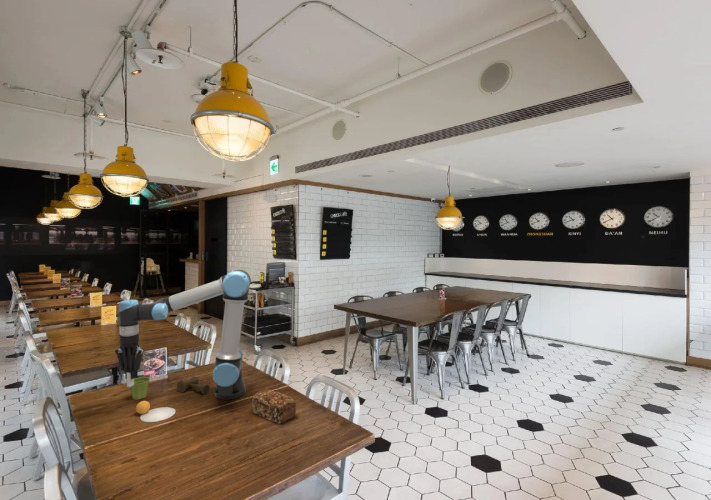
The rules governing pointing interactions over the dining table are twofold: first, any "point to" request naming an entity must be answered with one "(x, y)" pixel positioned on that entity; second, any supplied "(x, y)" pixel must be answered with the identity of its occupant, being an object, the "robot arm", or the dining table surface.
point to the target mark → (157, 414)
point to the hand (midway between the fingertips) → (130, 385)
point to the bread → (273, 405)
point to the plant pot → (140, 388)
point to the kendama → (193, 385)
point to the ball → (143, 407)
